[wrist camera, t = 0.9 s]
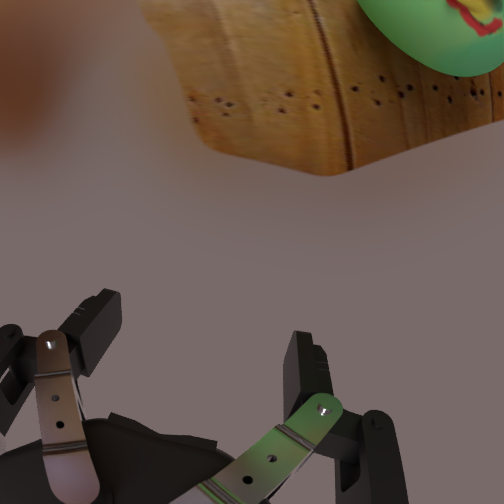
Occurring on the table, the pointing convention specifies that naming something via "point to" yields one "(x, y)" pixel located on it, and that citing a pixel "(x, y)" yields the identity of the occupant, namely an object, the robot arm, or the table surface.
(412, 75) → the table surface
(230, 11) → the table surface
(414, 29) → the green horned toy
